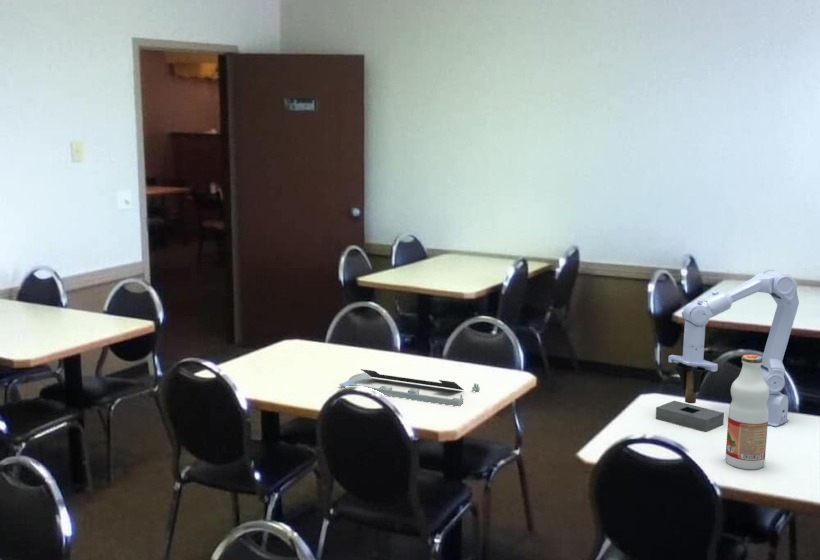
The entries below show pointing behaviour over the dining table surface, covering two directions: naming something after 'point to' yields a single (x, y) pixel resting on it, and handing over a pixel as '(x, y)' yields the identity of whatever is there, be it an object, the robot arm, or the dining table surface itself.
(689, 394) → the peg
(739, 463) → the fruit juice
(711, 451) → the dining table surface
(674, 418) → the block with square hole
